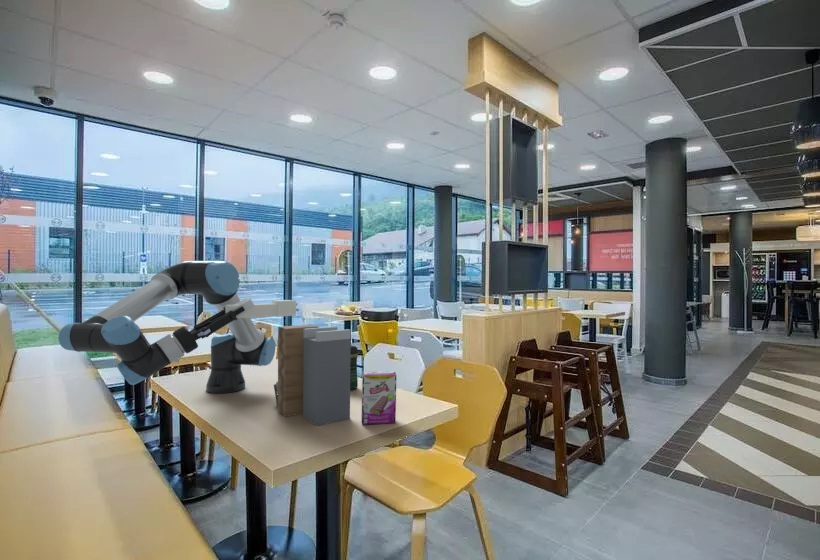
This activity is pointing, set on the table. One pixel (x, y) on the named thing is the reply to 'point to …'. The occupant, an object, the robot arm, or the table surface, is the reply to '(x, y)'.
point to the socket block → (326, 375)
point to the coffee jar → (353, 367)
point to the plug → (268, 309)
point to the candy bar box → (378, 397)
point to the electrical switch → (276, 391)
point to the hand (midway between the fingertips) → (250, 302)
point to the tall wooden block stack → (291, 368)
